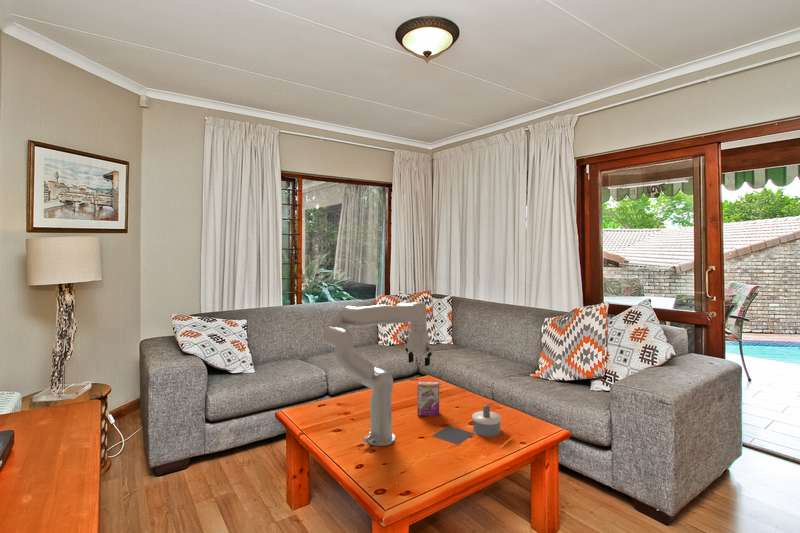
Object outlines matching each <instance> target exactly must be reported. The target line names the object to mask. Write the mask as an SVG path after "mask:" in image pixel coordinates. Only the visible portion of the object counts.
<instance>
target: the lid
mask: <svg viewBox="0 0 800 533" xmlns="http://www.w3.org/2000/svg"><path fill="white" fill-rule="evenodd" d="M490 409H491V406H490V404H483V406H482V410H481V411H480V410H479V411H475V412H474V413H472V415H471V416H472V417H471V418H472V421H475V422H476V423H479V424H483V425H494V424H498V423H500V424H501V422H502V416H501V415H500V414H499V413H497V412H493V411H491V410H490Z"/></svg>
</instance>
